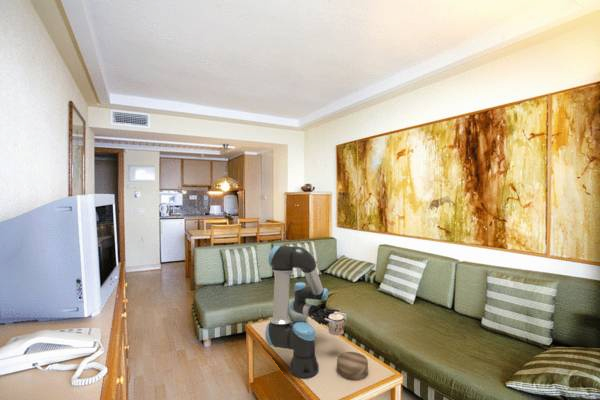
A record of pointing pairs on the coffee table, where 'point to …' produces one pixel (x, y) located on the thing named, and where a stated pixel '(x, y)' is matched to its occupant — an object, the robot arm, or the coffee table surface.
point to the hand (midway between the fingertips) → (340, 320)
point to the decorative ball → (296, 316)
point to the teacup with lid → (336, 324)
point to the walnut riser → (352, 366)
